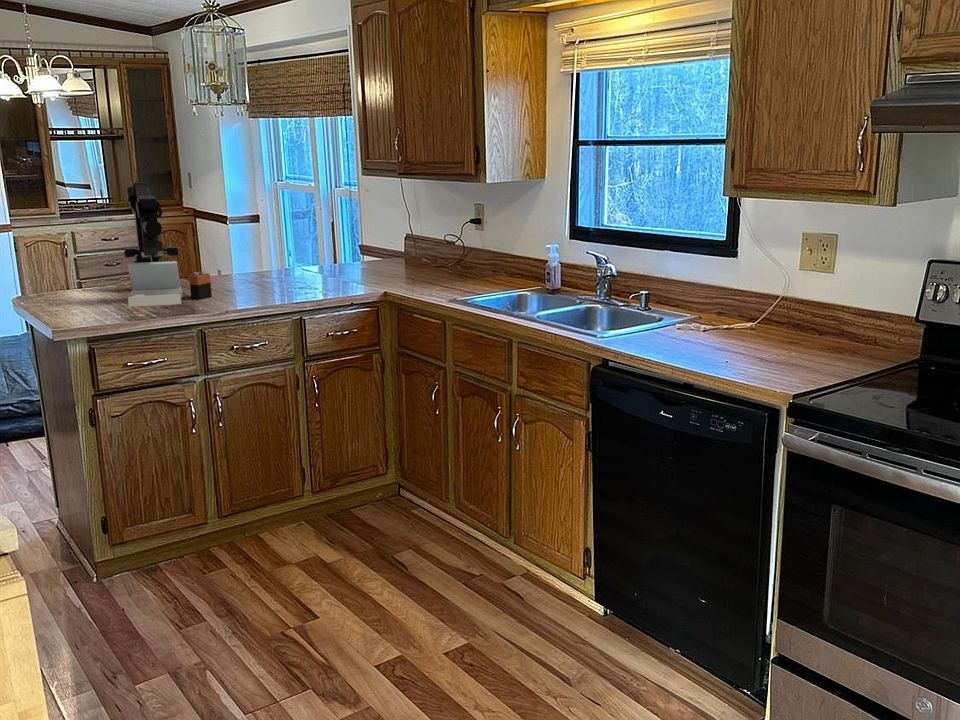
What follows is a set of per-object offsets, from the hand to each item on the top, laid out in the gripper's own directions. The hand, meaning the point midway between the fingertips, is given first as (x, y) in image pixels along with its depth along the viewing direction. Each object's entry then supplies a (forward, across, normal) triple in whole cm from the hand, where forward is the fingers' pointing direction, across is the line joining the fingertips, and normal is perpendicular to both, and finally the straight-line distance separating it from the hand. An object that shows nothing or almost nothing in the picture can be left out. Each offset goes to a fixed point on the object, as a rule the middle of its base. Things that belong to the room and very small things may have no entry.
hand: (154, 274), depth 321 cm
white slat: (+10, 0, -4) cm, 10 cm away
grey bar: (+10, 0, -4) cm, 11 cm away
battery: (+10, +16, 0) cm, 19 cm away
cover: (+1, 0, -1) cm, 1 cm away
